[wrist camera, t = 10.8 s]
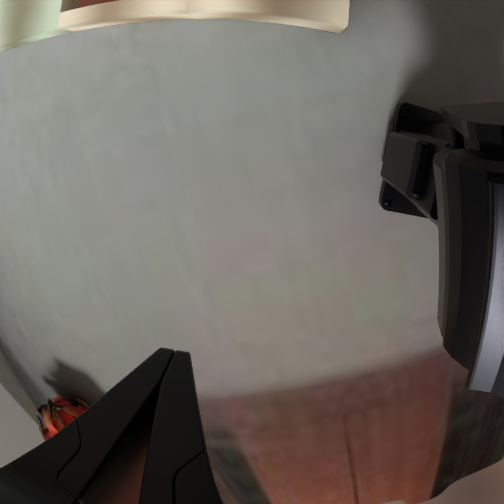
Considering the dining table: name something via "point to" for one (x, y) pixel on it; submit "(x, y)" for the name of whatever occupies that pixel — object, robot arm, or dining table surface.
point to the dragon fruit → (58, 415)
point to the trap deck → (156, 14)
